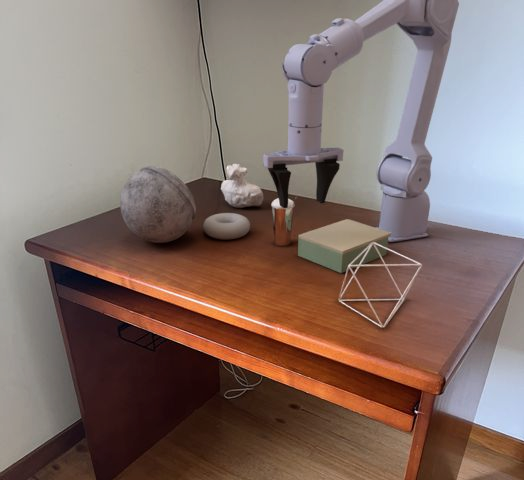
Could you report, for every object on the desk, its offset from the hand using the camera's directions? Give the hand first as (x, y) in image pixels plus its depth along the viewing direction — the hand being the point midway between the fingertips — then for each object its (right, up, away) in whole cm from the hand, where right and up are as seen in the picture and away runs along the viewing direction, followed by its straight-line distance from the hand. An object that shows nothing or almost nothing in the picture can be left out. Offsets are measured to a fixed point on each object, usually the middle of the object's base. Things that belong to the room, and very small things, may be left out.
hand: (302, 204), depth 100 cm
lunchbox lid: (+8, -5, +5) cm, 11 cm away
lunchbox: (+8, -8, +6) cm, 13 cm away
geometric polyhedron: (+11, -20, -13) cm, 26 cm away
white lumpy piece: (-13, +8, +33) cm, 37 cm away
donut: (-15, -2, +17) cm, 23 cm away
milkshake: (-3, -5, +12) cm, 13 cm away
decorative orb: (-28, -4, +14) cm, 32 cm away
